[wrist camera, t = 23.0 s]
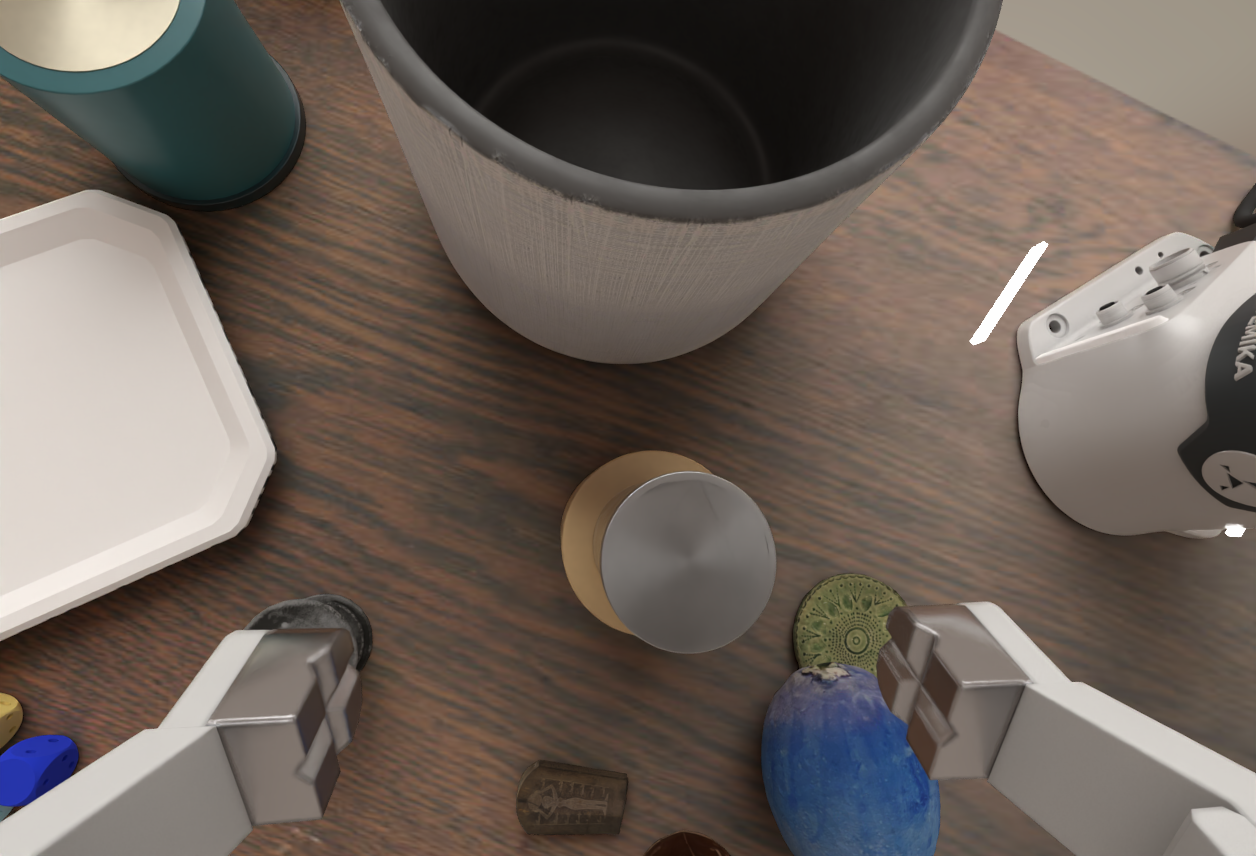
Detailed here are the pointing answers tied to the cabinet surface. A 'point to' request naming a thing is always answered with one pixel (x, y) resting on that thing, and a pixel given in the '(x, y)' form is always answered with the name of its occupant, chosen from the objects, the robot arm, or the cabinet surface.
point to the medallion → (844, 621)
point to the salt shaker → (321, 620)
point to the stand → (586, 512)
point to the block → (570, 799)
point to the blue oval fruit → (845, 769)
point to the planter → (655, 146)
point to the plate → (113, 407)
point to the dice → (30, 760)
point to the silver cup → (685, 560)
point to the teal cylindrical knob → (161, 92)
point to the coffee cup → (686, 845)
